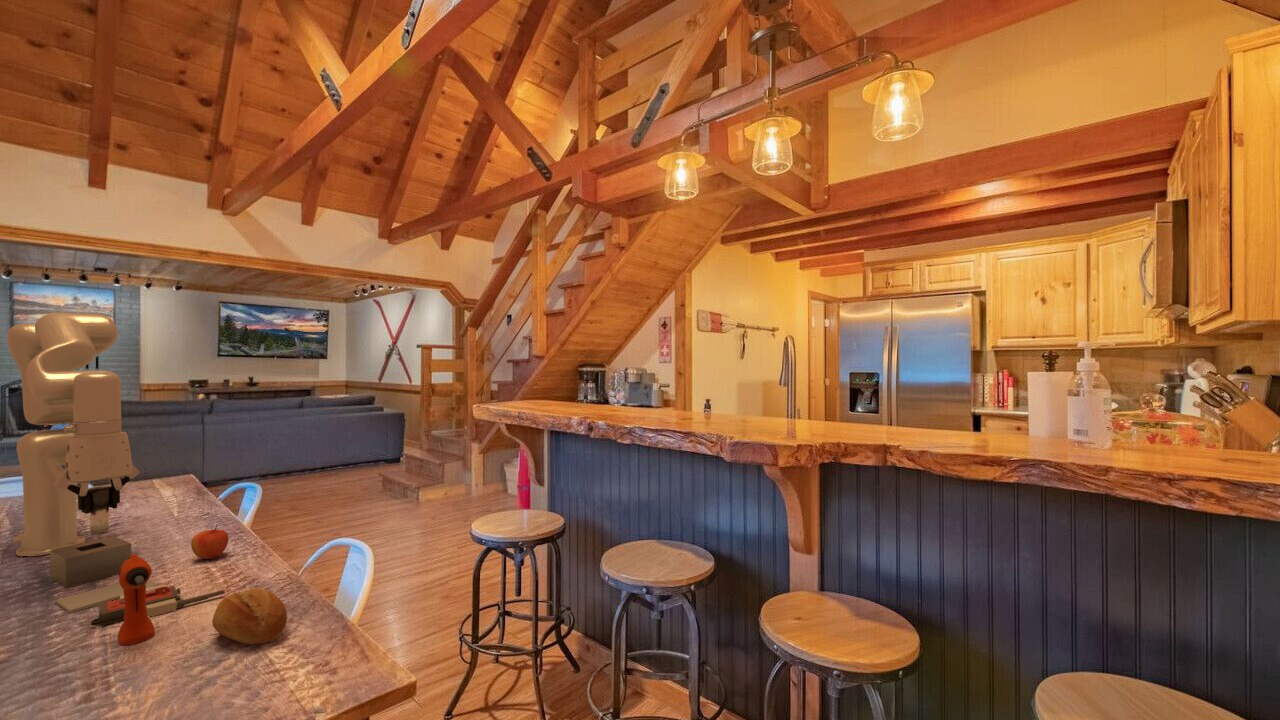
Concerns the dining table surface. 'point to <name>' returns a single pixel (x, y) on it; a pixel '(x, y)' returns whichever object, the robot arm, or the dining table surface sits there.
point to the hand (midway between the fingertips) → (99, 509)
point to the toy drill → (135, 601)
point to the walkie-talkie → (148, 604)
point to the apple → (209, 543)
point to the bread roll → (251, 616)
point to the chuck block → (88, 561)
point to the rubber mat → (94, 597)
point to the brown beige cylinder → (99, 509)
